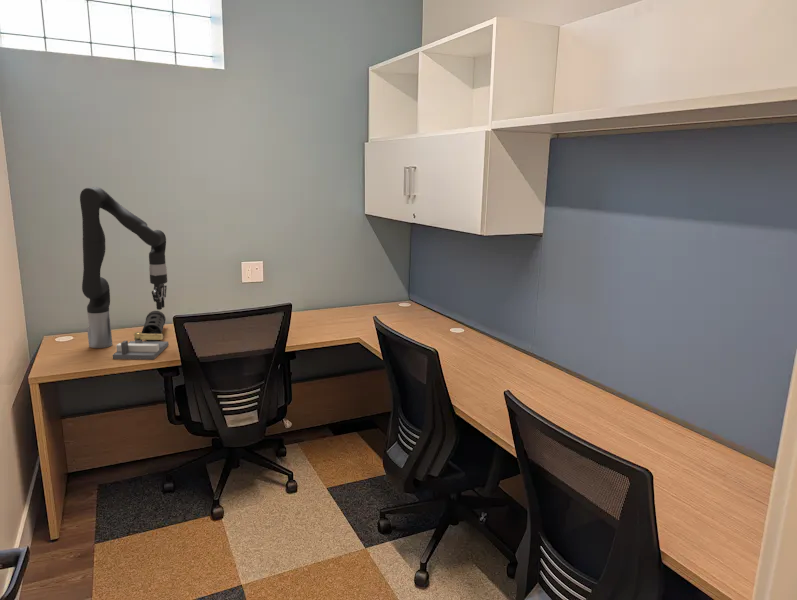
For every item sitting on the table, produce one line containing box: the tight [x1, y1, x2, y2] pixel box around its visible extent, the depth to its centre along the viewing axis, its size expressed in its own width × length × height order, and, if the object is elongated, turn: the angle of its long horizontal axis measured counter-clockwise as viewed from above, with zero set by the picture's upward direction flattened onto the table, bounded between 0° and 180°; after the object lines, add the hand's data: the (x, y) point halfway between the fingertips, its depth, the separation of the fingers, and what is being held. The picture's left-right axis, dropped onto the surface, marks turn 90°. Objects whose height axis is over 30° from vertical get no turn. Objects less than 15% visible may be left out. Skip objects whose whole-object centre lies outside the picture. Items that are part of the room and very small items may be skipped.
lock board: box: [112, 340, 170, 360], centre depth 264 cm, size 18×20×8 cm
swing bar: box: [133, 331, 164, 341], centre depth 266 cm, size 13×3×3 cm, turn 93°
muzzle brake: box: [141, 310, 166, 341], centre depth 288 cm, size 10×28×10 cm, turn 18°
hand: (160, 308), depth 269 cm, fingers open, 3 cm apart
